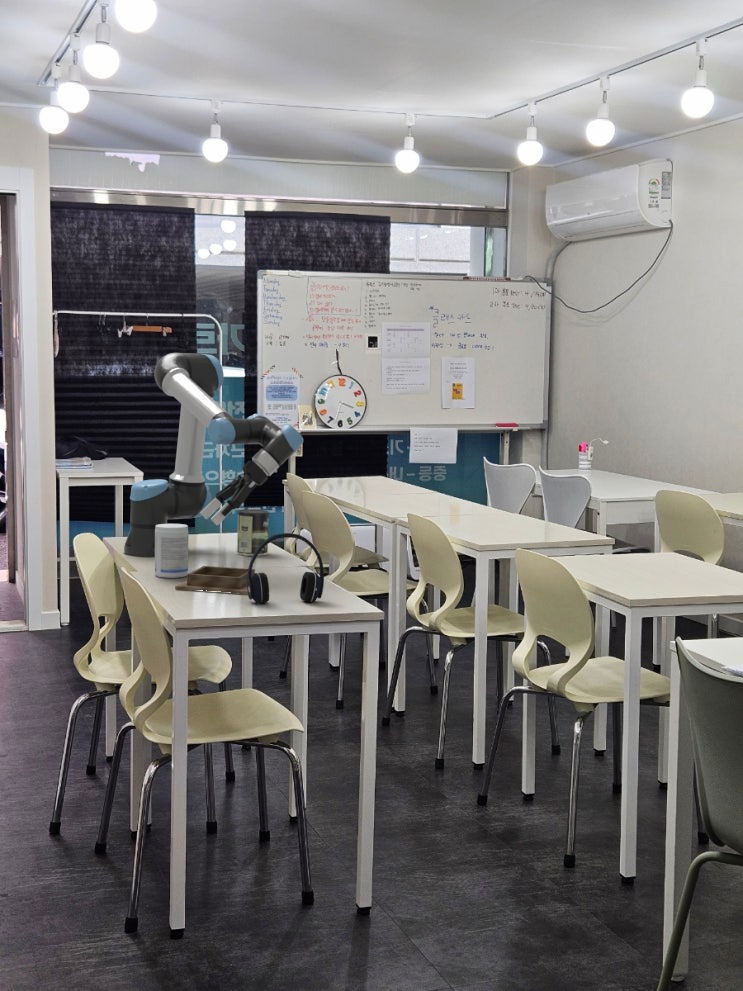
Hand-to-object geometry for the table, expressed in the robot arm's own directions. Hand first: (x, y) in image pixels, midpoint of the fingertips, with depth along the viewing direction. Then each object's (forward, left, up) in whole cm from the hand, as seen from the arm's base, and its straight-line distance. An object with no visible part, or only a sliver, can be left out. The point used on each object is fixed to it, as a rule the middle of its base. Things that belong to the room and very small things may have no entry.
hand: (208, 519), depth 342 cm
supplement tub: (-9, -5, -17) cm, 20 cm away
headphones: (+31, -31, -17) cm, 47 cm away
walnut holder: (+9, -15, -16) cm, 24 cm away
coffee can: (+2, +44, -17) cm, 47 cm away
